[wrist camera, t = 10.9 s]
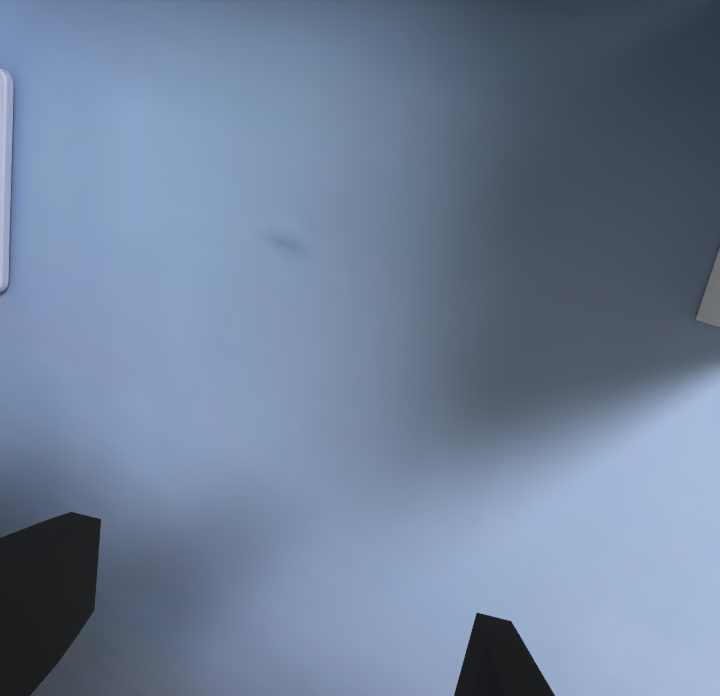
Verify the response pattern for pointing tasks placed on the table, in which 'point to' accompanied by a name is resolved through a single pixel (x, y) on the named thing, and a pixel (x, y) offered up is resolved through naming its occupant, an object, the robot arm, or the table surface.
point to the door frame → (711, 298)
